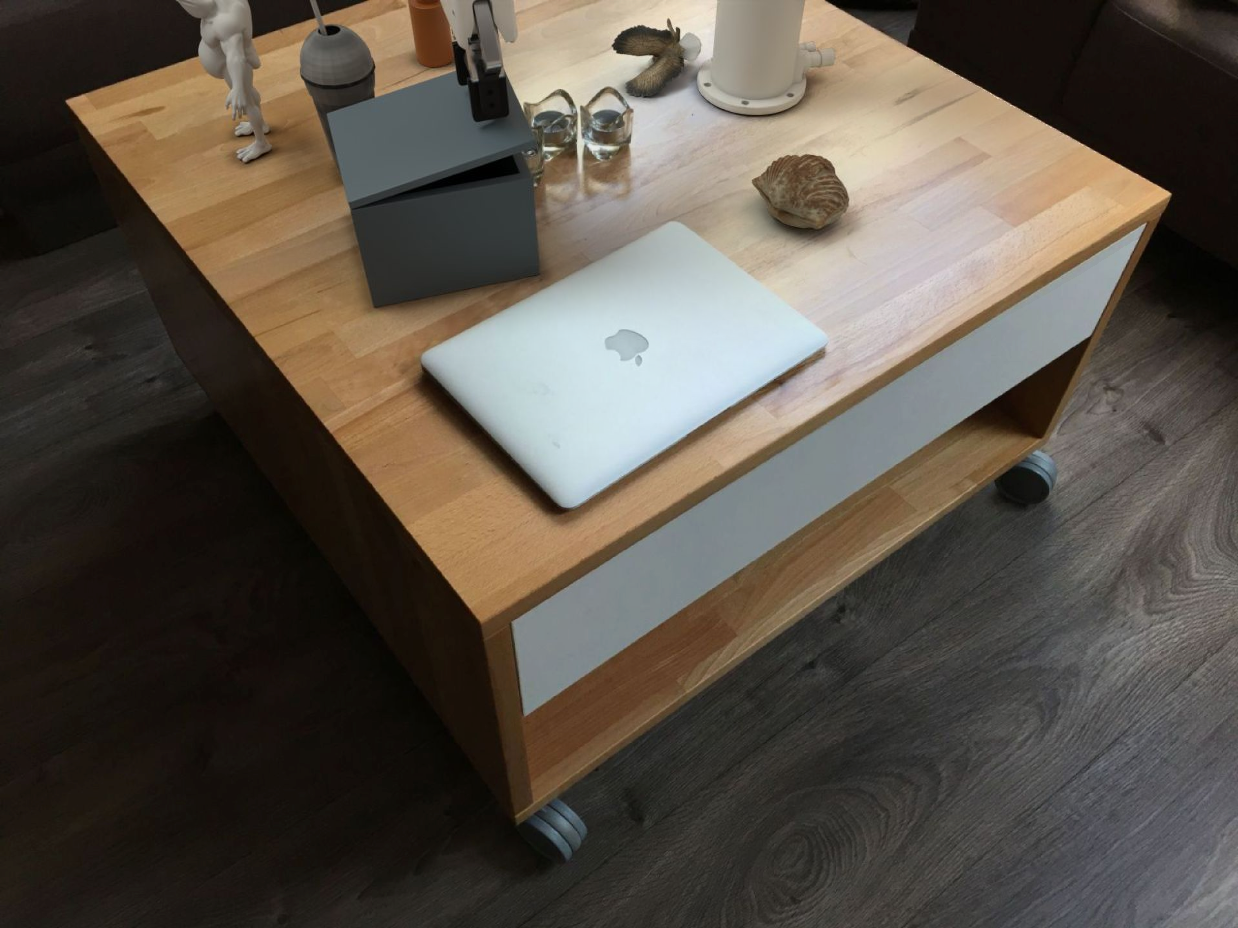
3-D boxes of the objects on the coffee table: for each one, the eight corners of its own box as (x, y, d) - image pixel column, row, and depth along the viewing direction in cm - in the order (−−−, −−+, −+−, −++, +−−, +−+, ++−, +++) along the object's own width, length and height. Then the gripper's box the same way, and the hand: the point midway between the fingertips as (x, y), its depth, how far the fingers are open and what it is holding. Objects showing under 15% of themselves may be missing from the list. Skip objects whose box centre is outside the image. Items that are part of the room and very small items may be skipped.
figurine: (220, 103, 116) (167, -59, 102) (280, 95, 117) (236, -67, 103) (225, 196, 105) (167, 29, 91) (292, 186, 107) (244, 19, 93)
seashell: (802, 259, 101) (855, 220, 104) (812, 204, 95) (868, 165, 98) (735, 211, 105) (788, 175, 108) (740, 156, 99) (796, 120, 102)
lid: (500, 63, 96) (486, 14, 92) (538, 146, 87) (524, 96, 83) (329, 120, 95) (307, 73, 91) (351, 210, 86) (328, 162, 82)
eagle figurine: (650, 40, 123) (598, 54, 118) (683, 0, 118) (630, 13, 112) (683, 94, 123) (632, 110, 118) (717, 57, 118) (666, 72, 112)
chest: (506, 190, 106) (496, 94, 98) (540, 274, 98) (533, 177, 89) (352, 218, 103) (328, 121, 95) (373, 307, 95) (350, 210, 86)
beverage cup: (381, 194, 106) (341, 5, 90) (314, 185, 107) (264, -3, 91) (404, 154, 110) (370, -32, 95) (340, 146, 111) (296, -40, 96)
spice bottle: (449, 46, 125) (439, -34, 117) (457, 64, 122) (447, -16, 114) (414, 51, 124) (401, -28, 116) (420, 70, 121) (408, -10, 114)
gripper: (534, -78, 72) (550, 146, 86) (478, -170, 82) (501, 44, 96) (428, -61, 70) (462, 163, 84) (385, -157, 80) (422, 57, 94)
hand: (483, 97), depth 90 cm, fingers closed on lid, 5 cm apart
